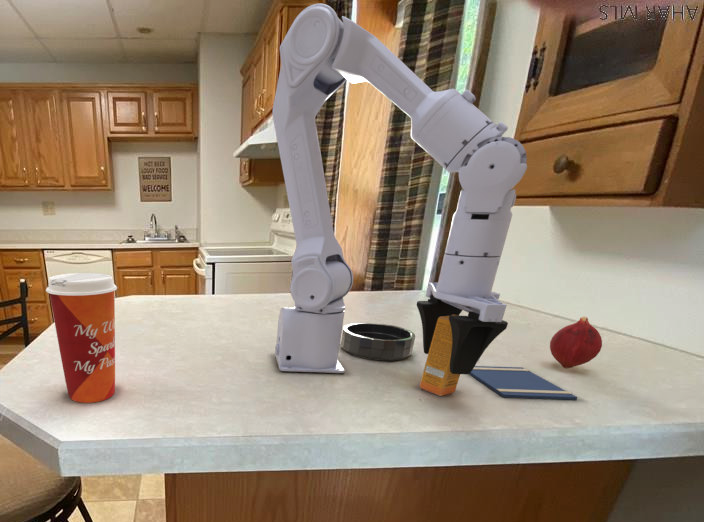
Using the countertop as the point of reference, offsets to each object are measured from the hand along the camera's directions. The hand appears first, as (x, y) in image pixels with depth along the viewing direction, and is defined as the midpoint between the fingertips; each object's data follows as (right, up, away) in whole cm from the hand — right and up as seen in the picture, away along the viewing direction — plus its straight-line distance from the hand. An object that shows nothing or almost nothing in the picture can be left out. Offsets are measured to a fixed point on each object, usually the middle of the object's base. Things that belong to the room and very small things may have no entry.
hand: (445, 362), depth 55 cm
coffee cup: (-46, -4, 0) cm, 46 cm away
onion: (+25, -1, +10) cm, 27 cm away
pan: (-2, +3, +17) cm, 18 cm away
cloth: (+12, -3, +4) cm, 13 cm away
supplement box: (0, -4, +2) cm, 4 cm away
